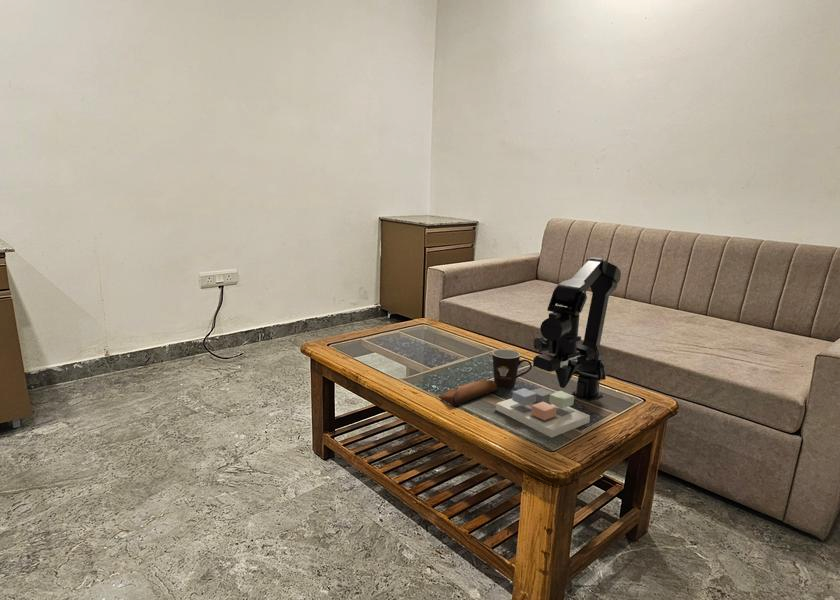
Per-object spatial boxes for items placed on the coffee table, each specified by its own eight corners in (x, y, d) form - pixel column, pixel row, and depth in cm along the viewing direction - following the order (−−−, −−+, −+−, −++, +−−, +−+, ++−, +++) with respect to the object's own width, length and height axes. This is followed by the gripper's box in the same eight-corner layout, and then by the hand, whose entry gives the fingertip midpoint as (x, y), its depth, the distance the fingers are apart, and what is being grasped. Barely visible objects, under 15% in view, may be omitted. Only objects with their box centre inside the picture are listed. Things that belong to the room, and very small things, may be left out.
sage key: (560, 399, 152) (560, 390, 152) (573, 404, 149) (574, 396, 148) (549, 402, 150) (549, 394, 149) (562, 408, 146) (563, 399, 146)
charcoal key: (540, 395, 158) (540, 387, 157) (552, 400, 155) (553, 392, 154) (529, 399, 155) (530, 390, 155) (541, 404, 152) (542, 396, 151)
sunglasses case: (476, 383, 173) (485, 369, 169) (490, 400, 169) (500, 386, 166) (434, 398, 161) (442, 383, 158) (448, 416, 158) (457, 401, 154)
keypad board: (532, 397, 163) (533, 390, 162) (589, 422, 147) (589, 414, 147) (496, 409, 154) (496, 402, 154) (551, 437, 139) (552, 429, 138)
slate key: (523, 396, 154) (524, 388, 153) (535, 401, 150) (536, 393, 150) (512, 400, 151) (512, 391, 150) (524, 405, 148) (524, 397, 147)
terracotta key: (542, 410, 149) (543, 401, 148) (555, 416, 145) (556, 407, 144) (531, 414, 146) (531, 405, 145) (544, 420, 142) (544, 411, 142)
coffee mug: (485, 383, 173) (486, 353, 171) (502, 376, 179) (503, 347, 177) (515, 394, 165) (517, 362, 163) (532, 386, 171) (534, 356, 169)
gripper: (565, 319, 156) (561, 371, 160) (519, 330, 145) (516, 385, 149) (598, 328, 148) (593, 383, 151) (552, 340, 137) (548, 399, 140)
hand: (562, 387), depth 148 cm, fingers closed
